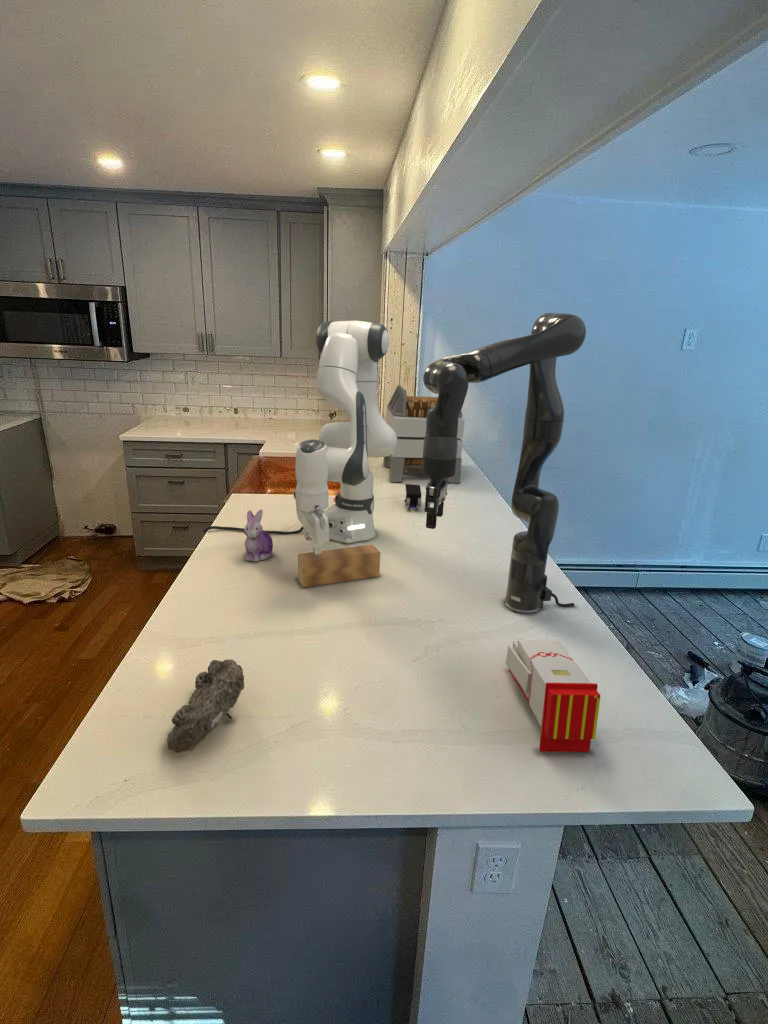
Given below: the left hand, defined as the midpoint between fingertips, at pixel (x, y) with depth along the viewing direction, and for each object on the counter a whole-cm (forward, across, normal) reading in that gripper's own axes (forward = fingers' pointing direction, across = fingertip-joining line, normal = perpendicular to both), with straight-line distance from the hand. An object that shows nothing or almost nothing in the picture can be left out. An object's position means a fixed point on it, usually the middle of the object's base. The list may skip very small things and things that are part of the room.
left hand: (312, 546), depth 160 cm
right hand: (-18, -34, -20) cm, 43 cm away
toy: (+9, -68, -29) cm, 75 cm away
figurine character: (+13, +50, -56) cm, 76 cm away
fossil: (+9, -50, +34) cm, 61 cm away
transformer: (+15, +94, -80) cm, 124 cm away
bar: (+11, -1, -8) cm, 13 cm away
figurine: (+11, +21, +12) cm, 26 cm away
